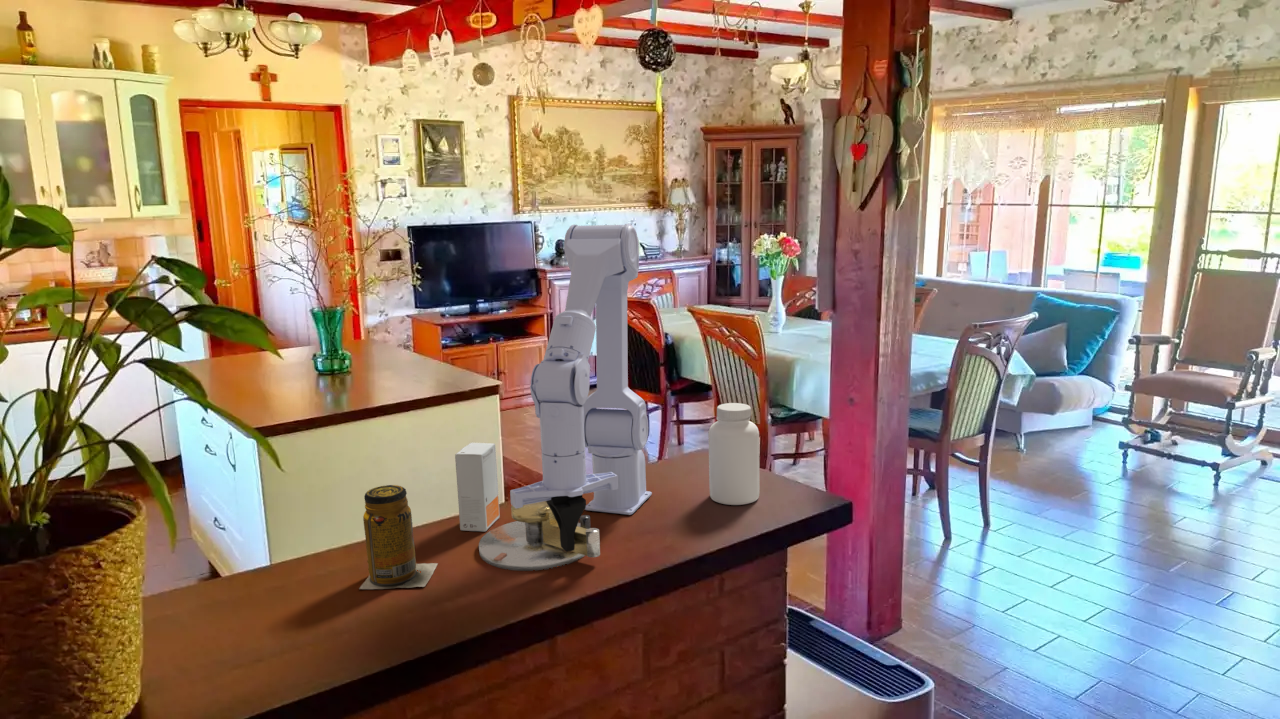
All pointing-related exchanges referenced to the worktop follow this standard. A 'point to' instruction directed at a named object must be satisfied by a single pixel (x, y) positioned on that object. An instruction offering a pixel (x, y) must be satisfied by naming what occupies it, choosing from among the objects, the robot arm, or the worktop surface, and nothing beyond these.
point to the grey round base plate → (525, 547)
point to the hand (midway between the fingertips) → (568, 548)
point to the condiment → (391, 541)
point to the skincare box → (477, 486)
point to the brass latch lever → (541, 512)
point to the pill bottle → (734, 456)
